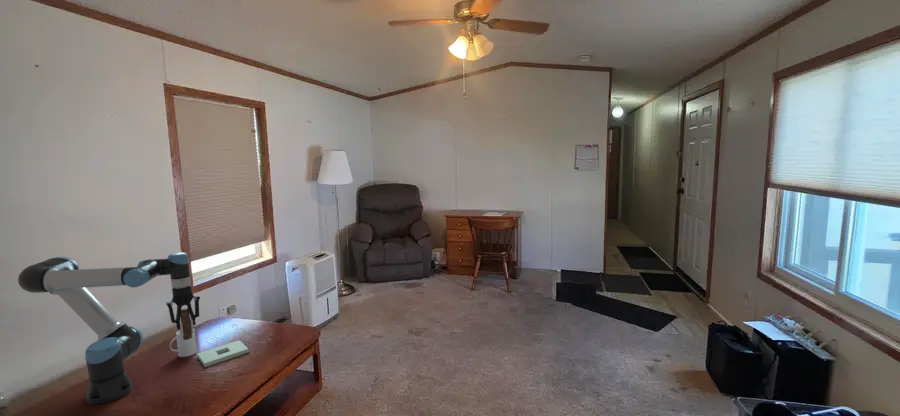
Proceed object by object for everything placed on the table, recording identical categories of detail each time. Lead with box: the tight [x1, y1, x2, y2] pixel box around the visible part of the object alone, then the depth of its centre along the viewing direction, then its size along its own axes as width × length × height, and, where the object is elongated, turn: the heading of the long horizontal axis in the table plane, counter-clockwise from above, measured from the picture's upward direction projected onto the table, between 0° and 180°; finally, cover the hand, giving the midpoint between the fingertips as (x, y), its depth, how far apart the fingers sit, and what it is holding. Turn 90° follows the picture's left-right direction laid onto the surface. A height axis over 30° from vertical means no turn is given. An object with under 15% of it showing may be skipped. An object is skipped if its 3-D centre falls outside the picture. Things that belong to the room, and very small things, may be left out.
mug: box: [169, 329, 198, 358], centre depth 209 cm, size 12×8×12 cm
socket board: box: [196, 339, 250, 368], centre depth 208 cm, size 20×14×2 cm
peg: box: [180, 307, 192, 340], centre depth 191 cm, size 4×4×14 cm
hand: (187, 333), depth 192 cm, fingers closed on peg, 3 cm apart
